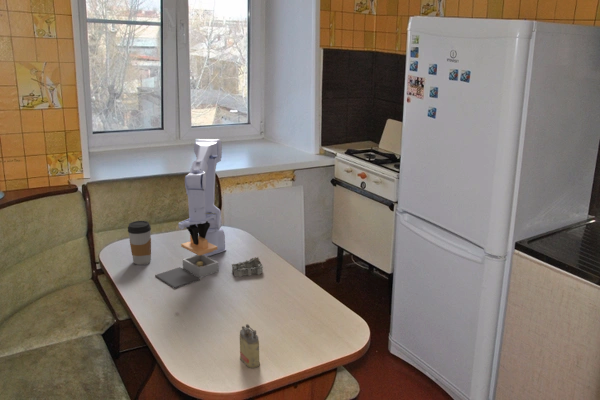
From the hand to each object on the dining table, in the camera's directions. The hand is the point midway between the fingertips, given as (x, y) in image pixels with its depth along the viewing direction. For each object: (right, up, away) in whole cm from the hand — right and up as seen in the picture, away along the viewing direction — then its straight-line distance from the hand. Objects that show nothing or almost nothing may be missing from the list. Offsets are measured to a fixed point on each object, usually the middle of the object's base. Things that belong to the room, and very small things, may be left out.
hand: (198, 243), depth 204 cm
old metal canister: (+23, -28, -52) cm, 63 cm away
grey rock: (+17, -11, +2) cm, 20 cm away
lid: (0, -3, +1) cm, 3 cm away
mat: (-7, -12, -4) cm, 14 cm away
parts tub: (0, -10, +3) cm, 10 cm away
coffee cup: (-23, -8, +10) cm, 26 cm away
